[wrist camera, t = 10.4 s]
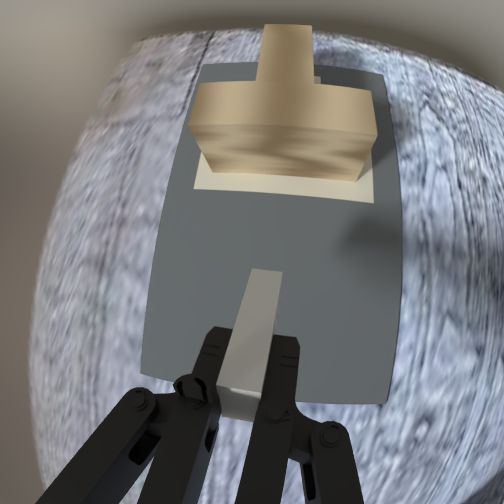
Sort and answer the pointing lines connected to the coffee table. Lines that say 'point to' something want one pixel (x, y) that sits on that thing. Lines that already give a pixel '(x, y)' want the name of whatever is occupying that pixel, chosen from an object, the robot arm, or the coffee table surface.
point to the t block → (284, 116)
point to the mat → (283, 257)
